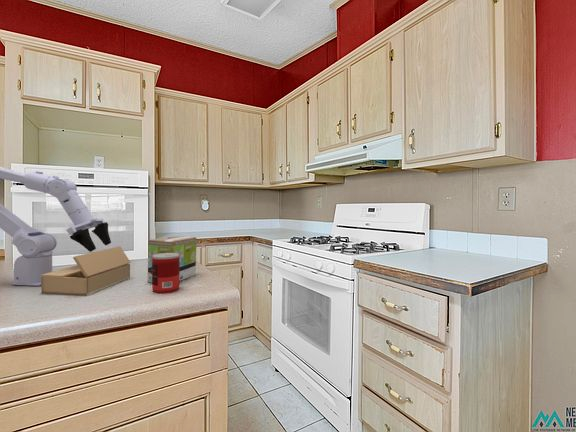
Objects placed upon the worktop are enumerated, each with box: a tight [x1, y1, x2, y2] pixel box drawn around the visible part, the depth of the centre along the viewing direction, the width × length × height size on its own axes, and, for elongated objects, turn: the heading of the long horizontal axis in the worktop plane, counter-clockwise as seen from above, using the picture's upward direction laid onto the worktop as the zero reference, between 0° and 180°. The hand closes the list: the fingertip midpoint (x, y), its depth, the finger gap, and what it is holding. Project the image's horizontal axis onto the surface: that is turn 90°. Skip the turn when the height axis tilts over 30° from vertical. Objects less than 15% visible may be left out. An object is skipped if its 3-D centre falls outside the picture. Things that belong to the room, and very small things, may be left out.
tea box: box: [147, 235, 198, 284], centre depth 104 cm, size 15×10×15 cm
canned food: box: [151, 253, 180, 294], centre depth 91 cm, size 8×8×11 cm
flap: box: [72, 245, 131, 277], centre depth 94 cm, size 7×20×1 cm
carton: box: [40, 263, 131, 297], centre depth 94 cm, size 14×20×6 cm
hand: (101, 247), depth 99 cm, fingers open, 7 cm apart
